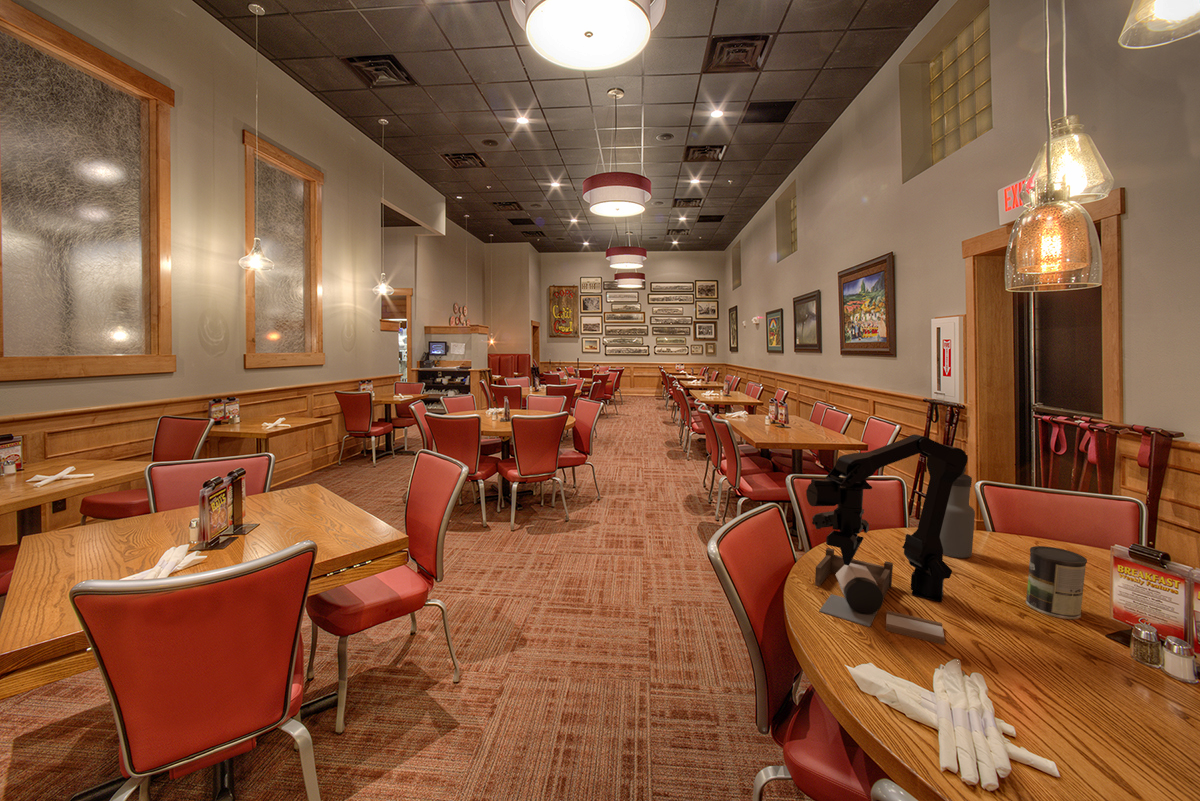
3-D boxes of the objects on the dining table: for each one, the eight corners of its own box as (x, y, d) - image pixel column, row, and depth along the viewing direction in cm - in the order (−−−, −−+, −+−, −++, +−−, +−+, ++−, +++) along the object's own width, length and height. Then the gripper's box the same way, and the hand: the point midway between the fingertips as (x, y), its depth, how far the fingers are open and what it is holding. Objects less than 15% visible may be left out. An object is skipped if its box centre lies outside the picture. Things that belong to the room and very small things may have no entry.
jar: (854, 601, 130) (865, 622, 119) (828, 579, 132) (837, 598, 120) (879, 577, 129) (893, 597, 117) (852, 555, 130) (863, 572, 118)
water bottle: (934, 544, 165) (940, 461, 163) (971, 551, 160) (977, 465, 157) (933, 554, 157) (939, 467, 155) (972, 561, 151) (978, 471, 149)
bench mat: (878, 608, 122) (878, 607, 122) (869, 627, 114) (869, 625, 114) (831, 595, 129) (831, 594, 129) (819, 611, 121) (819, 610, 121)
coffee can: (1023, 608, 123) (1027, 553, 122) (1027, 594, 130) (1032, 542, 129) (1081, 624, 116) (1086, 566, 114) (1082, 609, 123) (1087, 554, 122)
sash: (941, 627, 114) (942, 622, 114) (944, 645, 107) (945, 639, 107) (886, 614, 119) (886, 610, 119) (885, 630, 113) (886, 625, 112)
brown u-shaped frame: (891, 585, 135) (892, 562, 134) (882, 603, 125) (884, 579, 124) (826, 569, 145) (827, 547, 145) (813, 584, 135) (814, 561, 135)
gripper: (826, 492, 139) (823, 546, 140) (805, 507, 124) (803, 568, 126) (870, 499, 132) (867, 556, 133) (854, 516, 117) (851, 580, 119)
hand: (846, 564), depth 128 cm, fingers closed
